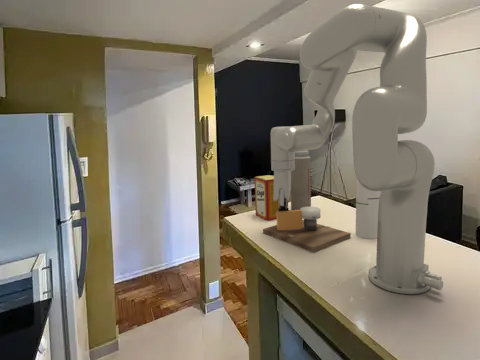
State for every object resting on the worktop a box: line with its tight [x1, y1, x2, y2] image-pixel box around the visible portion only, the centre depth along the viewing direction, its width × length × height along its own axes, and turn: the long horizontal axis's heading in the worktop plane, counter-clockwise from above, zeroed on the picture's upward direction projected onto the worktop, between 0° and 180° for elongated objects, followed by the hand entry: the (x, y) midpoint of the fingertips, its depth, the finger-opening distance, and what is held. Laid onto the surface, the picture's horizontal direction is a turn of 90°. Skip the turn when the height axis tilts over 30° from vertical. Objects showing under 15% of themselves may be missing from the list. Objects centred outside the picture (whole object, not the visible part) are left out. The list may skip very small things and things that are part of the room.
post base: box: [262, 218, 351, 253], centre depth 103 cm, size 22×17×6 cm
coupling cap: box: [276, 206, 321, 230], centre depth 104 cm, size 14×8×6 cm, turn 97°
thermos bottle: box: [290, 150, 312, 210], centre depth 128 cm, size 8×8×28 cm
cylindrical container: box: [355, 178, 381, 240], centre depth 99 cm, size 7×7×25 cm
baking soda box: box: [253, 174, 279, 222], centre depth 125 cm, size 10×6×16 cm
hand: (283, 219), depth 107 cm, fingers closed
